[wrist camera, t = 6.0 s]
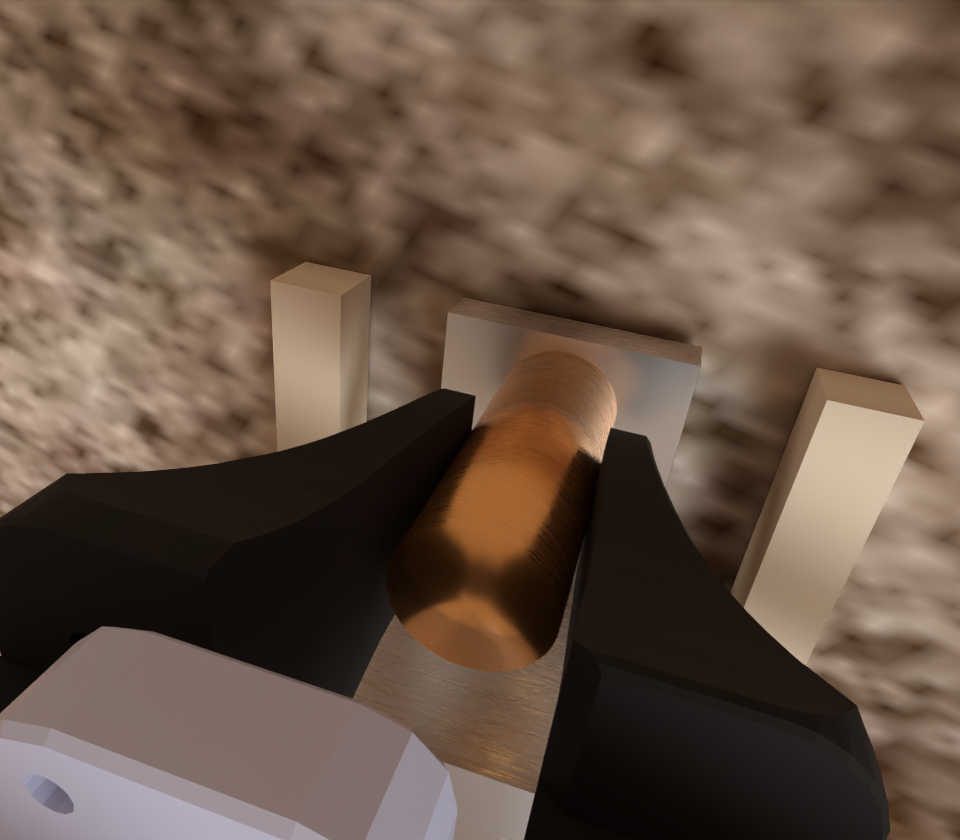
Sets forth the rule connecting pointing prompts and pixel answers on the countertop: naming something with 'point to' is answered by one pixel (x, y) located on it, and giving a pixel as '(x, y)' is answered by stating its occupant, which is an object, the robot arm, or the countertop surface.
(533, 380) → the press jaw
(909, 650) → the countertop surface
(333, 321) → the press frame
